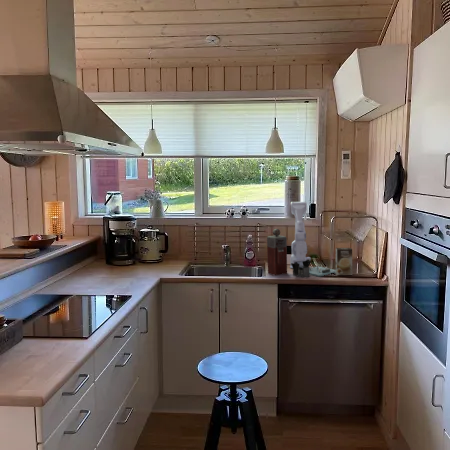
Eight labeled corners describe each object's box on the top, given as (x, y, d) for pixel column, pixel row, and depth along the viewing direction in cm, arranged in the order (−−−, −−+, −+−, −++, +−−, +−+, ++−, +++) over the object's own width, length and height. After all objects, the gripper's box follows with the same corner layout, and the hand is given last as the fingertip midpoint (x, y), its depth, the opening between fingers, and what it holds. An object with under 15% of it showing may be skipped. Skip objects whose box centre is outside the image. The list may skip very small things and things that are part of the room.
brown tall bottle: (277, 276, 274) (276, 230, 271) (267, 272, 284) (266, 228, 281) (289, 274, 278) (288, 229, 275) (279, 271, 288) (278, 227, 285)
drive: (292, 275, 275) (292, 265, 274) (297, 274, 277) (297, 264, 276) (304, 278, 267) (304, 268, 266) (309, 276, 269) (309, 267, 268)
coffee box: (336, 275, 269) (336, 249, 267) (335, 273, 275) (335, 247, 273) (352, 275, 268) (352, 249, 266) (350, 273, 274) (350, 247, 272)
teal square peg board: (297, 272, 283) (297, 266, 282) (318, 267, 293) (318, 262, 292) (319, 276, 268) (319, 271, 268) (339, 272, 278) (339, 266, 278)
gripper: (296, 253, 263) (296, 276, 264) (314, 250, 271) (314, 272, 273) (288, 252, 269) (288, 274, 270) (305, 249, 277) (306, 271, 278)
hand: (301, 273), depth 272 cm, fingers open, 7 cm apart
